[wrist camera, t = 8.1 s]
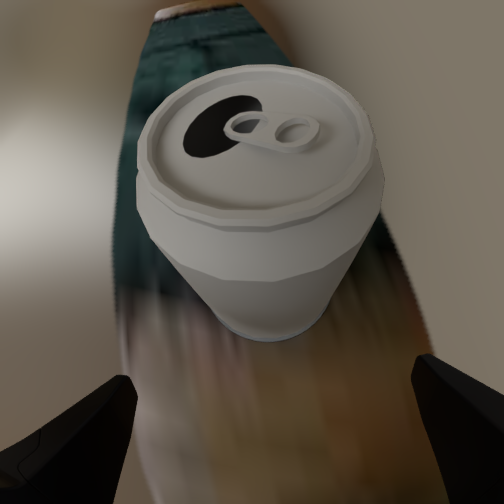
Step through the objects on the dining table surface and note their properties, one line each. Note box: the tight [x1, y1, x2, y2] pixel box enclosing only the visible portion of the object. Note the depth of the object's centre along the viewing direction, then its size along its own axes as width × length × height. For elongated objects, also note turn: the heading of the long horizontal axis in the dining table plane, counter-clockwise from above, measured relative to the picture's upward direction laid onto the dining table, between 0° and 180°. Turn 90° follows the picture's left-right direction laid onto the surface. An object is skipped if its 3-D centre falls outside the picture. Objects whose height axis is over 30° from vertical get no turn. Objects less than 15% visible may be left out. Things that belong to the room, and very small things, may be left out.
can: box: [136, 65, 385, 338], centre depth 12 cm, size 8×8×12 cm
